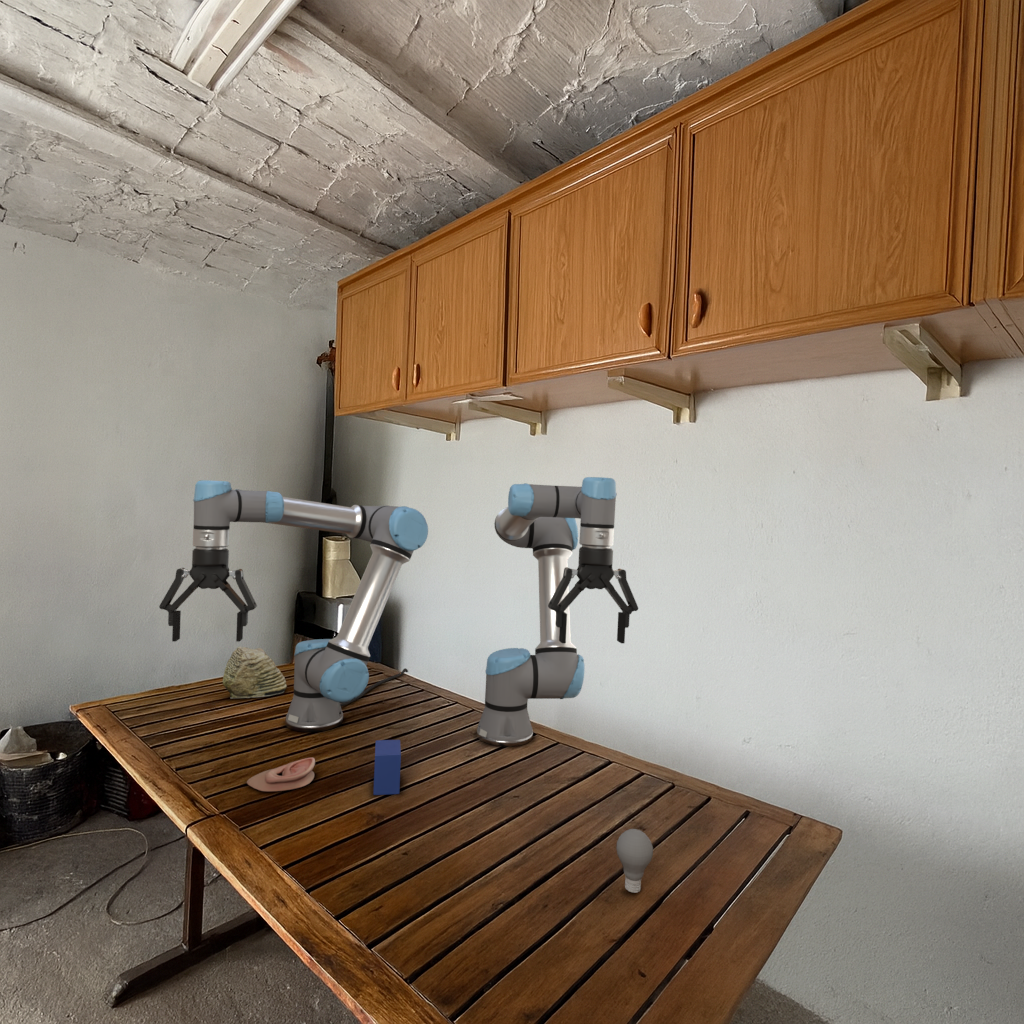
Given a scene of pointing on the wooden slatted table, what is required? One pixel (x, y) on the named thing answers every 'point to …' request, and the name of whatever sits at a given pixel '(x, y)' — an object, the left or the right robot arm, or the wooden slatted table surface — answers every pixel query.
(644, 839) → the light bulb
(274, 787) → the anatomical model
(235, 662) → the fossil
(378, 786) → the block
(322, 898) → the wooden slatted table surface
